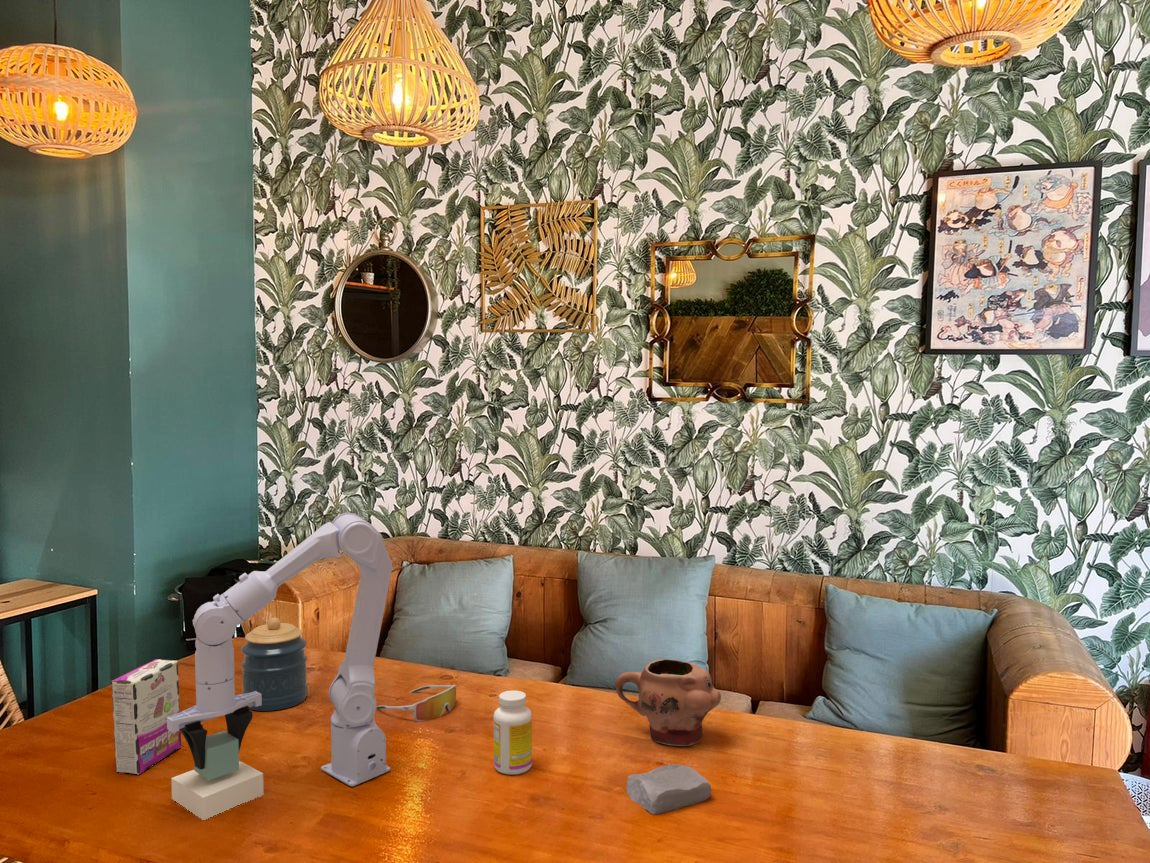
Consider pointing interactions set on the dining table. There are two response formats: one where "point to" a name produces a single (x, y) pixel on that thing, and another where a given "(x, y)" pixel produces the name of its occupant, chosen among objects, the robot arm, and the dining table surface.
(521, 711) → the supplement bottle
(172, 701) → the candy bar box
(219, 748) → the teal cube
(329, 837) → the dining table surface
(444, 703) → the sunglasses
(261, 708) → the canister
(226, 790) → the cream block
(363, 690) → the robot arm
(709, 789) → the stone block
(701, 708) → the sculpted ceramic mug
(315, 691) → the dining table surface
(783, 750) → the dining table surface
